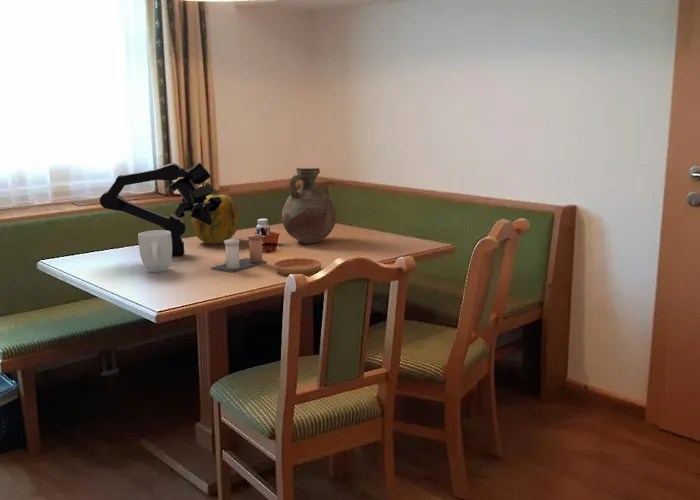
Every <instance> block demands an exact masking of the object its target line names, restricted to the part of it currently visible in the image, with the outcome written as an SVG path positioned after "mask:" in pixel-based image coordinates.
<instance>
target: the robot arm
mask: <svg viewBox="0 0 700 500" xmlns="http://www.w3.org/2000/svg"><path fill="white" fill-rule="evenodd" d="M211 177H212V175H211V173H210V172H209V170H208V169H207V168H206V167H205V166H204V165H203V164H202V163H201V162H200V161H199V162H198V163H196V165H195V166H193V167H191V168H190V169H185V168H184V167H183V168H182V167H181V166H180V165H179V164H177V163H175V162H173V163H172V162H171V163H168V164H165V165H163V166H160V167H158V168H155V169H150V170H144V171H139V172H133V173H127V174H119V175H118V176H117V177H116V178H115V181H114V182H113V183H112V185H111V187H110V188H109V189H108V190H107V191H105V192H103V193H102V194H101V196H100V198H99V204H100V206H101V207H102V208H104V209H106V210H111V211H117V212H123V213H125V214H126V213H127V214H129V215H132V216H133V217H136V218H139V219H142V220H144V221H147V222H149V223H152V224H154V225H156V226H159V227H160V228H162V230H166V231H170V232H171V238H172V257H183V256H184V254H185V242H184V241H183V237H181V236H183V235H184V234H185V232H186V228H187V225H186V224H187V223H186V222H185V220H184V219H182V218H184V217H185V214H186V213H188V212H190V218H191V217H194V218H196V219H198V220H200V221H202V222H204V223H206V224H208V225H211V224H212V220H211V216H210V212H212V211H216V210H217V208H218V207H219V205H220V204H221V202H222V200H221V199H220V197H212V198H210V199H209V200H208V202H204V200H206V199H207V197H206V196H208V195H212V192H213V191H214V190H213V188H214V187H213V186H212V185H211V184H210V183H209V184H207V185H203V186H201V185H202V184H203V183H205V181H206V180H208V181H209V179H210V178H211ZM153 181H170V185H169V189H170V190H171V191H172V192H175V191H176V190H177V191H178V193H179V195H180V196H181V197H182V199H181V201H182V202H180V203H179V204H178V206H177V207H176V208H175V210H174V213H171V212H170V214H169V216H167V215H164V214H161V213H158V212H156V211H153V210H151V209H149V208H146V207H143V206H141V205H139V204H135V203H133V202H130V201H128V200H127V199H126V198H124V197H122V196H121V195H120V194H121V192H122V191H123V189H124V187H125V186H130V185H135V184H141V183H147V182H153ZM172 181H174V182H172ZM194 185H195V186H196V185H199V187H197V188H196V187H195V186H194Z"/></svg>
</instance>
